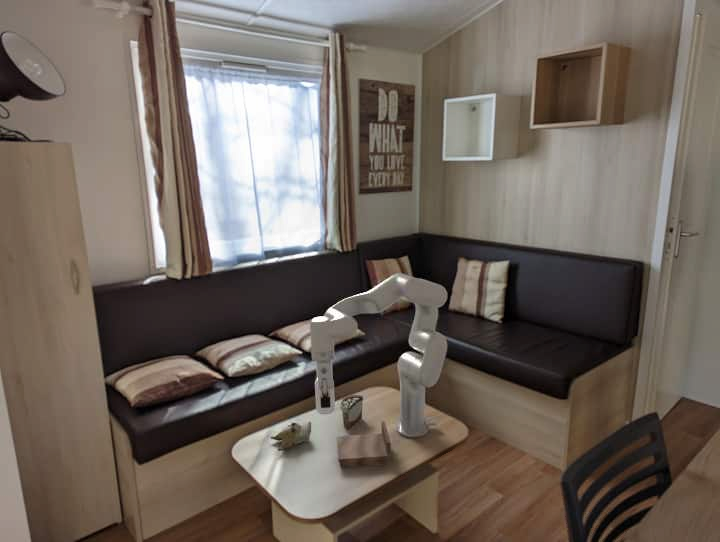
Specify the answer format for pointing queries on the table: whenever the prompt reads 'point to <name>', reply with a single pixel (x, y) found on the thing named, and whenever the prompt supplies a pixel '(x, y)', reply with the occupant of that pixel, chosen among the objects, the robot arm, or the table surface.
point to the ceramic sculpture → (293, 435)
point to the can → (318, 399)
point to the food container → (351, 410)
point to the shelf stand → (364, 449)
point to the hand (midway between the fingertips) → (325, 401)
